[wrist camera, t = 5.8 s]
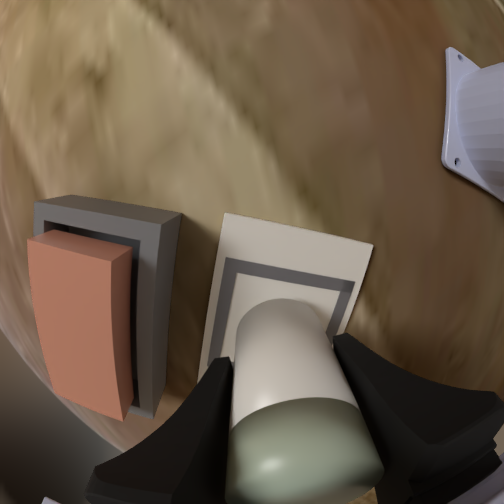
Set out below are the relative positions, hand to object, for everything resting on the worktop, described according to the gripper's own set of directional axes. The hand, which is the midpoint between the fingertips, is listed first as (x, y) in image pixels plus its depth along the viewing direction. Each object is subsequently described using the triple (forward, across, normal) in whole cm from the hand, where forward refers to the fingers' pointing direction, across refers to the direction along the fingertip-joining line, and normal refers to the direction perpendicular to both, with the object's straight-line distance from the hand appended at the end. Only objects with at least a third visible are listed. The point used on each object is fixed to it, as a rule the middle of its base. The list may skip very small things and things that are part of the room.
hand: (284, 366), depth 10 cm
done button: (+1, +8, -3) cm, 9 cm away
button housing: (+3, +8, -3) cm, 9 cm away
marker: (+2, 0, 0) cm, 2 cm away
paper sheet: (+3, 0, 0) cm, 3 cm away
